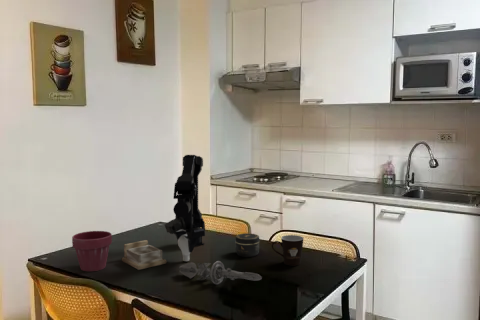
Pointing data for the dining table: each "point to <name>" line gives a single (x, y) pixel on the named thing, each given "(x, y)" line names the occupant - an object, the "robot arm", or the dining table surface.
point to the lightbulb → (184, 247)
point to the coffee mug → (291, 249)
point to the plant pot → (92, 249)
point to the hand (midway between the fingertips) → (186, 250)
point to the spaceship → (215, 272)
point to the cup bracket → (142, 255)
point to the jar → (247, 245)
